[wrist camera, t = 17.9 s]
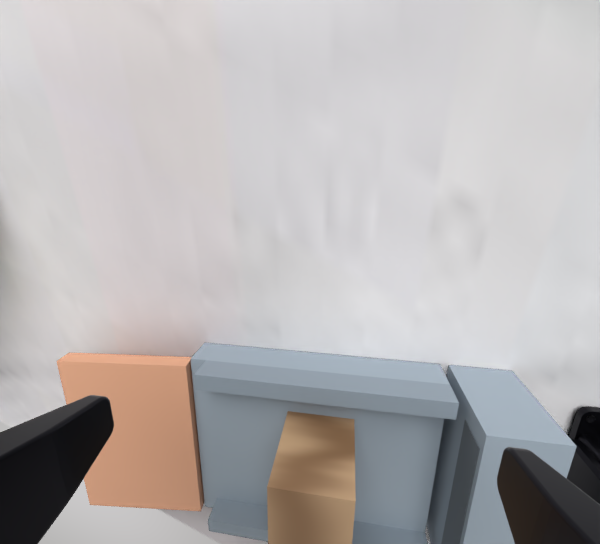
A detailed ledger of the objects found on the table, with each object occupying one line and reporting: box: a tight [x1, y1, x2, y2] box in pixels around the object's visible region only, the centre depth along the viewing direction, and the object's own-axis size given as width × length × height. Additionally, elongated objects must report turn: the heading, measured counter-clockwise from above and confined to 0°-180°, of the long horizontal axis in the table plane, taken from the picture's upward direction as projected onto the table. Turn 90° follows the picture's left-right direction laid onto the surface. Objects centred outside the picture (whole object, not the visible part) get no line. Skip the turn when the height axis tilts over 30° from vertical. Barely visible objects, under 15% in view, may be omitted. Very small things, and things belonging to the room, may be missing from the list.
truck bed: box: [191, 343, 577, 544], centre depth 19 cm, size 19×12×6 cm, turn 89°
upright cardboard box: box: [267, 411, 356, 544], centre depth 17 cm, size 4×6×5 cm, turn 179°
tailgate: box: [57, 353, 204, 511], centre depth 21 cm, size 1×12×8 cm
